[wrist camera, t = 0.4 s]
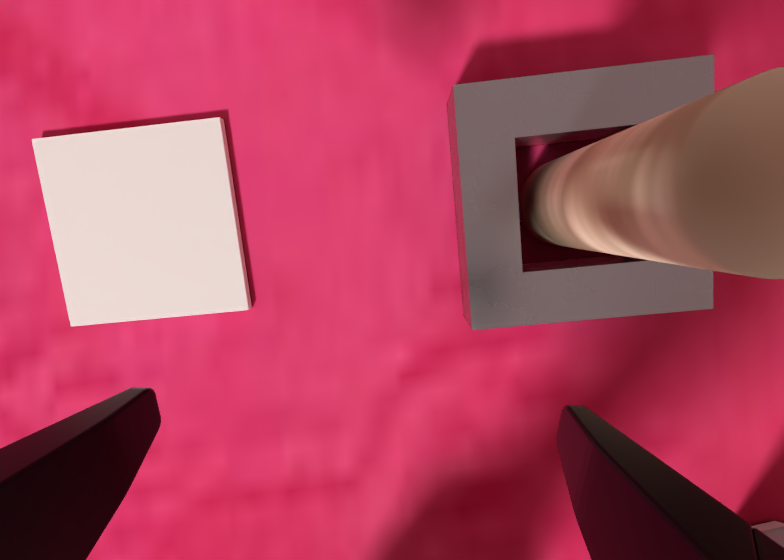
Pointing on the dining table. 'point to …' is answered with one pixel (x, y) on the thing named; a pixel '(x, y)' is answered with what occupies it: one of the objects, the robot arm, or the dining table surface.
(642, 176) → the birch peg
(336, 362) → the dining table surface
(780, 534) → the disposable coffee cup
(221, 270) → the white mat
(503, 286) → the socket block
